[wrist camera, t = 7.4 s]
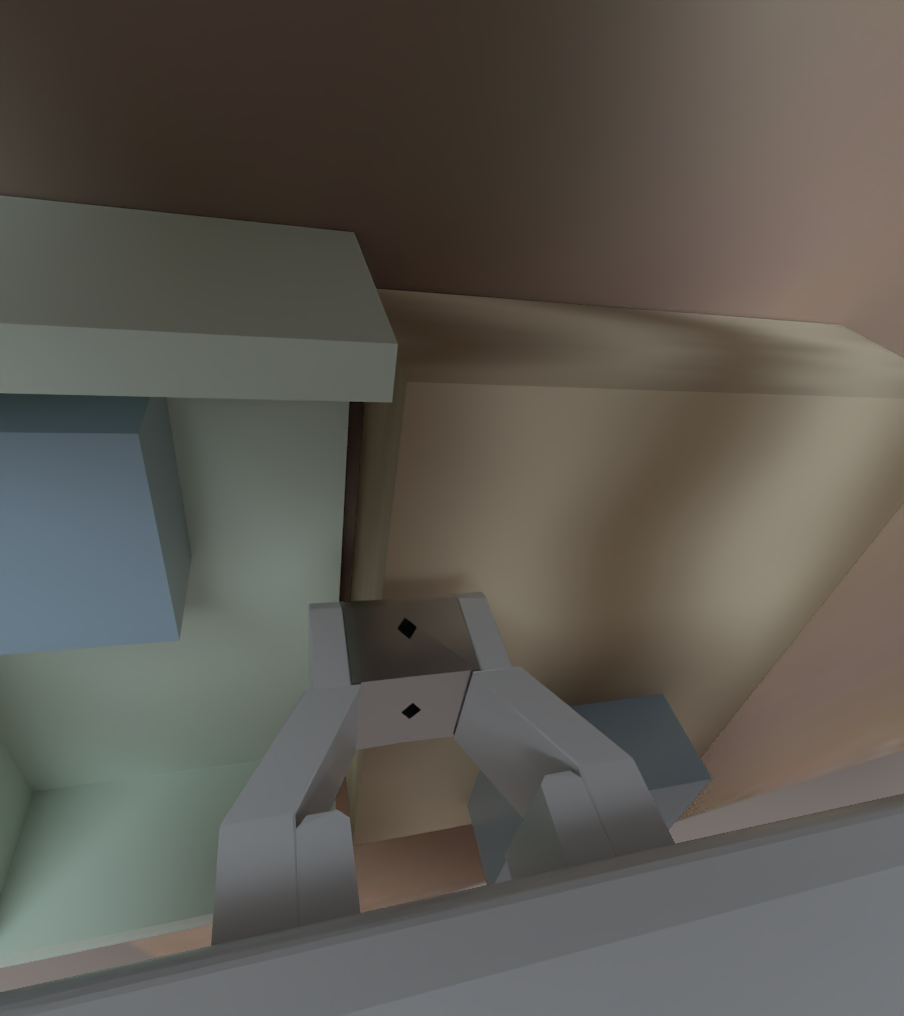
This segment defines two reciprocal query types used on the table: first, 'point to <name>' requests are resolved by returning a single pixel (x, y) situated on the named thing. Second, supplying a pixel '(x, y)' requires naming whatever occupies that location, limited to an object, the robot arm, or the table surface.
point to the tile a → (89, 523)
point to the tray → (212, 536)
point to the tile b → (637, 731)
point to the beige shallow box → (615, 504)
